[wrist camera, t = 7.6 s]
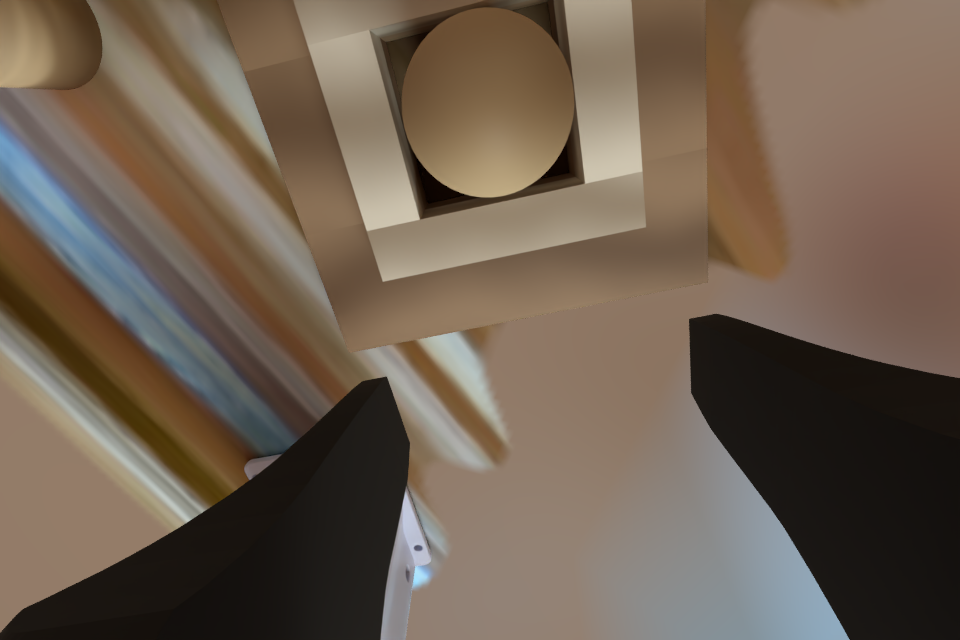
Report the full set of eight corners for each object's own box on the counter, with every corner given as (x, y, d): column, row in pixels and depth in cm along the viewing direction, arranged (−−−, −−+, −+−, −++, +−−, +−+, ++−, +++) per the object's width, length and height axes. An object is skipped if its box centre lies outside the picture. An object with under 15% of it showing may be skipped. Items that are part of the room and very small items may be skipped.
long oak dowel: (540, 152, 19) (581, 180, 11) (443, 171, 19) (423, 211, 12) (526, 39, 17) (564, -12, 10) (420, 62, 17) (381, 28, 10)
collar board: (695, 273, 21) (728, 297, 18) (355, 340, 22) (338, 373, 19) (685, -253, 14) (736, -341, 11) (190, -112, 15) (128, -159, 13)
